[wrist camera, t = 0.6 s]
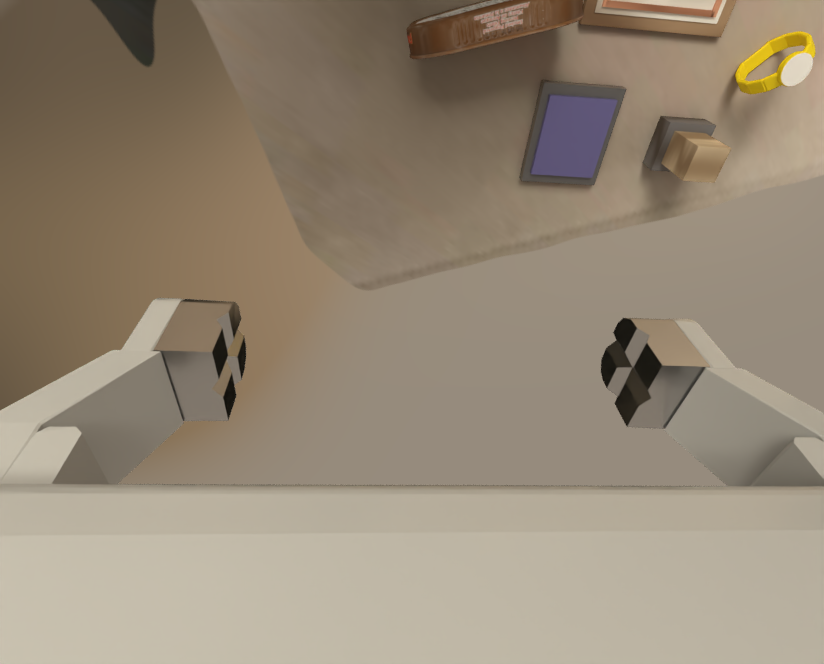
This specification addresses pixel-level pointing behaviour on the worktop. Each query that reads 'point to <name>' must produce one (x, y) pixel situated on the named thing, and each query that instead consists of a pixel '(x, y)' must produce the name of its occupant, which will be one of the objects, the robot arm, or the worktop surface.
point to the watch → (788, 70)
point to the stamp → (686, 149)
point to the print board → (660, 15)
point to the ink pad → (570, 132)
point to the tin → (488, 24)
